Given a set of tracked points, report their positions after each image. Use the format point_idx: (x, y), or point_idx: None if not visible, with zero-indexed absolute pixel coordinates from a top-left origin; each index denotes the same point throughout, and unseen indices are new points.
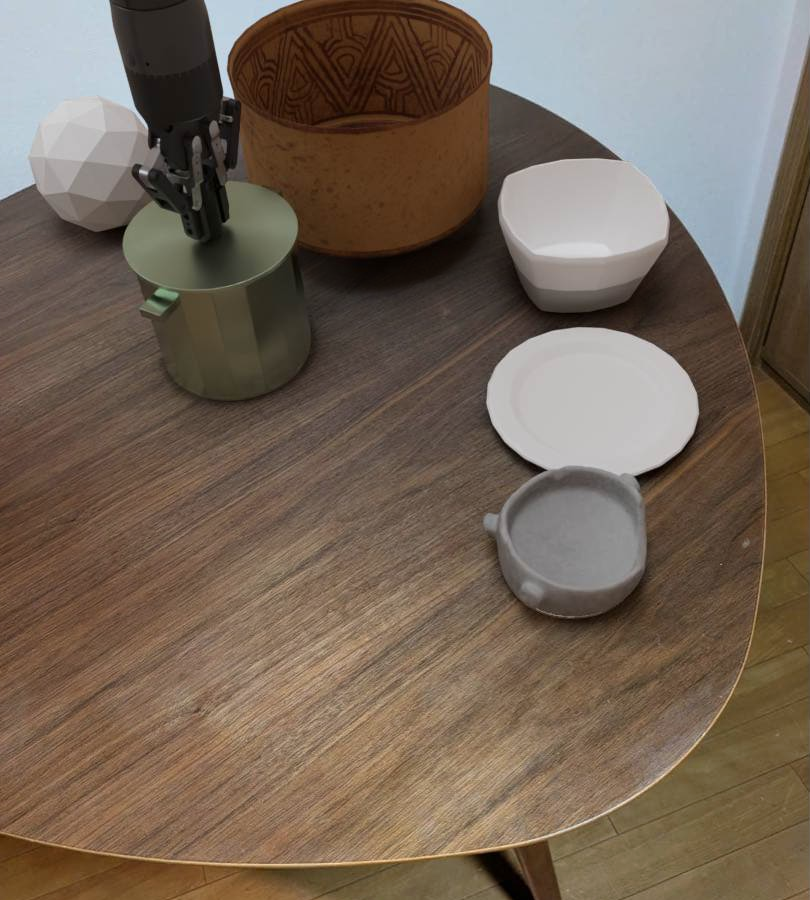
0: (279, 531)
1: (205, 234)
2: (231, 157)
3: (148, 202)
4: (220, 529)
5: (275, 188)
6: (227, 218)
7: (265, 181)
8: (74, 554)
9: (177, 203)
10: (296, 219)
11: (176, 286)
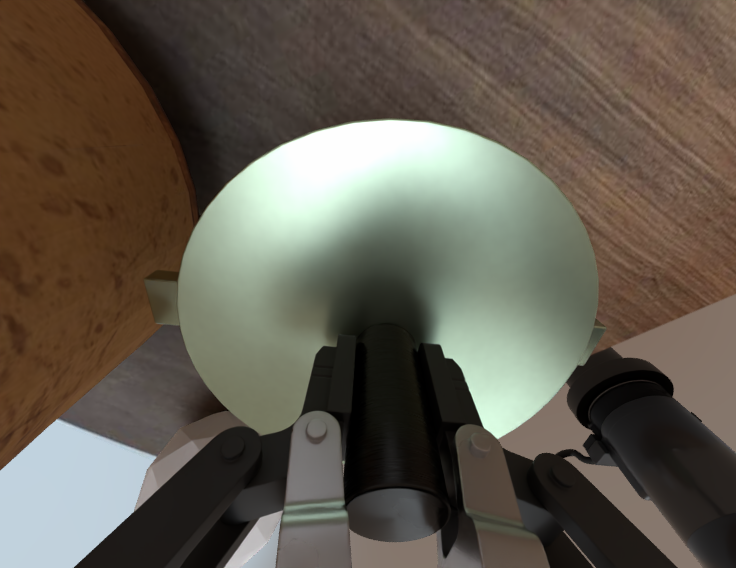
0: (707, 11)
1: (443, 356)
2: (228, 478)
3: (227, 418)
4: (689, 108)
5: (148, 294)
6: (348, 337)
7: (131, 324)
8: (703, 257)
9: (619, 527)
10: (247, 168)
11: (585, 335)
